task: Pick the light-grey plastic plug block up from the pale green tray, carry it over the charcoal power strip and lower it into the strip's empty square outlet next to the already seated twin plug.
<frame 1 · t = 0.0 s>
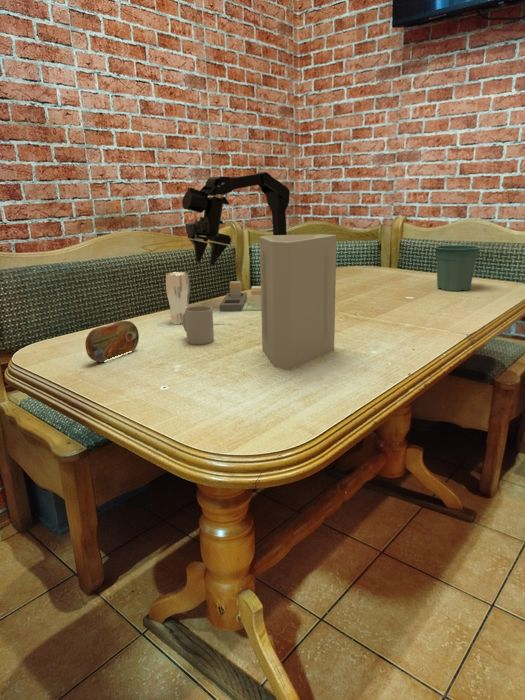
hand: (204, 263, 168), 15 cm above the table, tool pointing down, fingers open, 9 cm apart
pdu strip: (234, 307, 174), on the table
tray: (257, 310, 169), on the table
cup: (197, 340, 137), on the table
flower pot: (453, 289, 197), on the table
taupe rounded pillar: (288, 354, 124), on the table
tin: (114, 357, 125), on the table
beer glass: (180, 322, 156), on the table
plug: (257, 307, 169), point 1 cm above the table, touching tray
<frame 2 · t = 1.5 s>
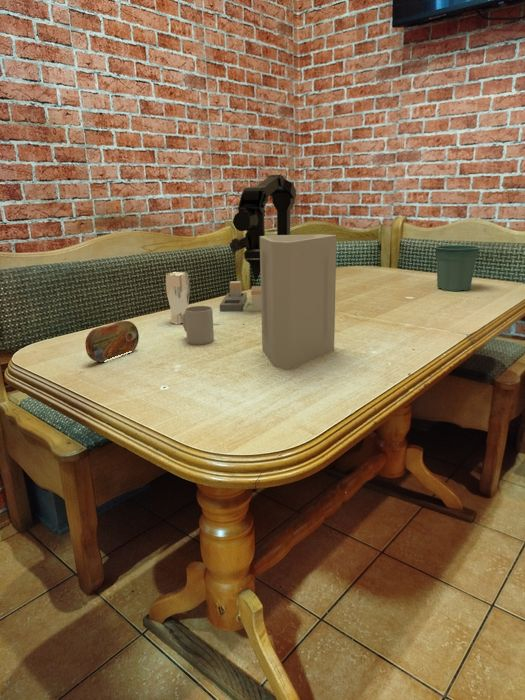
hand: (256, 277, 166), 11 cm above the table, tool pointing down, fingers open, 9 cm apart
nothing on the table moved.
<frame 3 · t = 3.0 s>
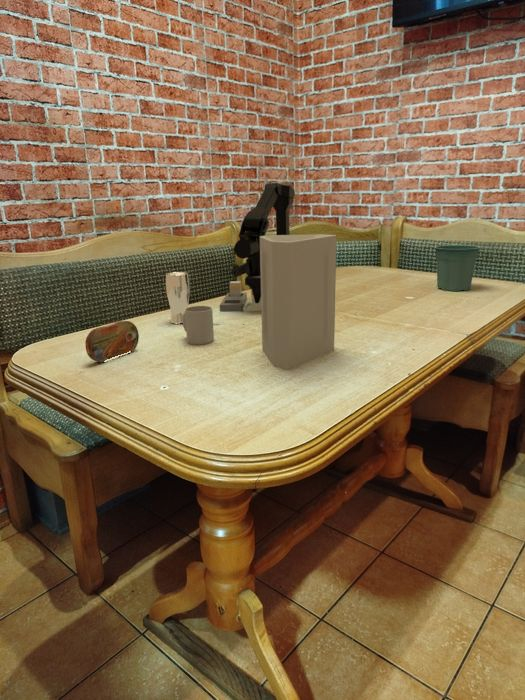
hand: (257, 301, 168), 3 cm above the table, tool pointing down, fingers closed on plug, 4 cm apart
plug: (257, 307, 169), point 1 cm above the table, touching gripper, tray
everything else where it was.
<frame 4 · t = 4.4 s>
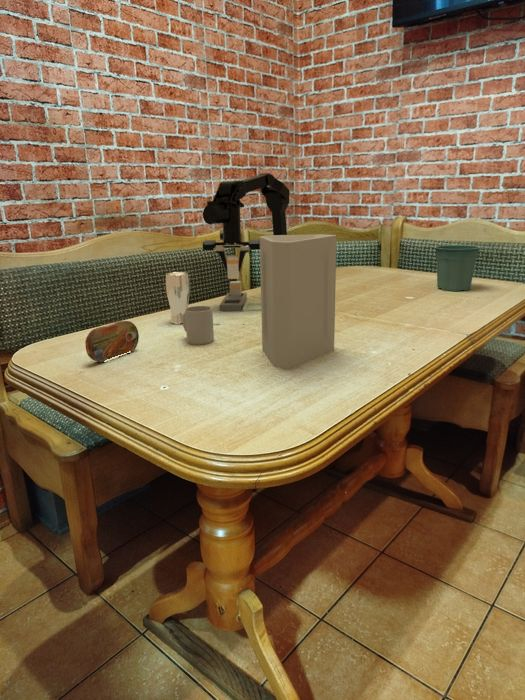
hand: (233, 271, 165), 13 cm above the table, tool pointing down, fingers closed on plug, 4 cm apart
plug: (233, 277, 166), point 11 cm above the table, touching gripper
everything else where it was.
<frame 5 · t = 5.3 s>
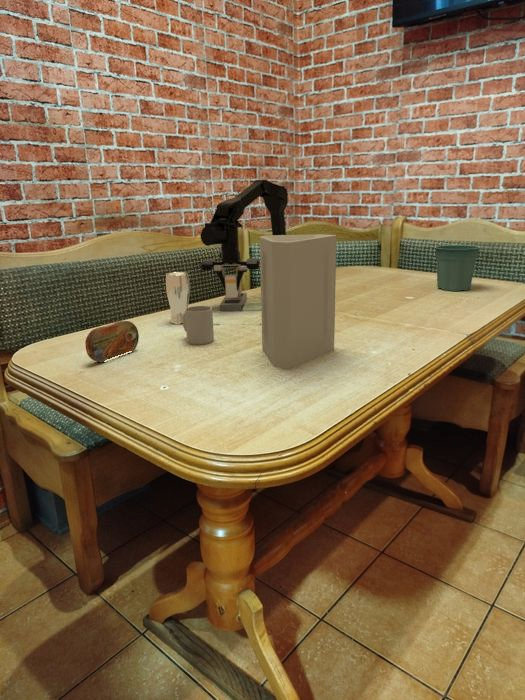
hand: (231, 290, 168), 7 cm above the table, tool pointing down, fingers closed on plug, 4 cm apart
plug: (232, 296, 168), point 5 cm above the table, touching gripper
everything else where it was.
when the fingers open (4 cm above the table, at t = 6.1 s): plug drops 1 cm, resting on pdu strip.
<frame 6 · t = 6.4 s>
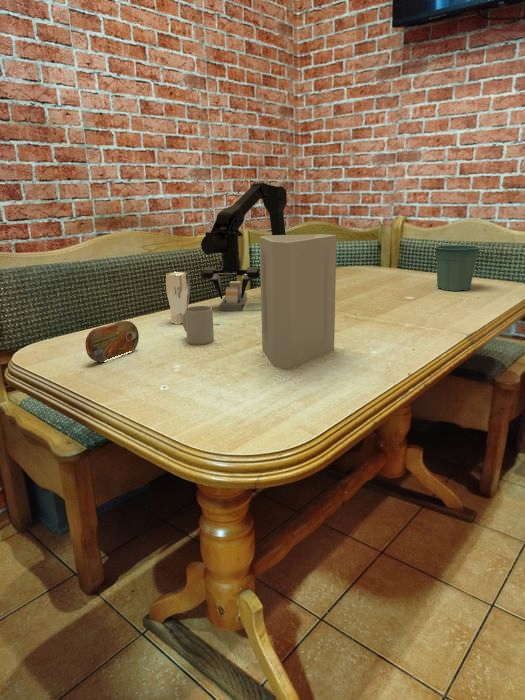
hand: (232, 298, 168), 4 cm above the table, tool pointing down, fingers open, 7 cm apart
plug: (232, 308, 169), point 1 cm above the table, touching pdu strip
everything else where it was.
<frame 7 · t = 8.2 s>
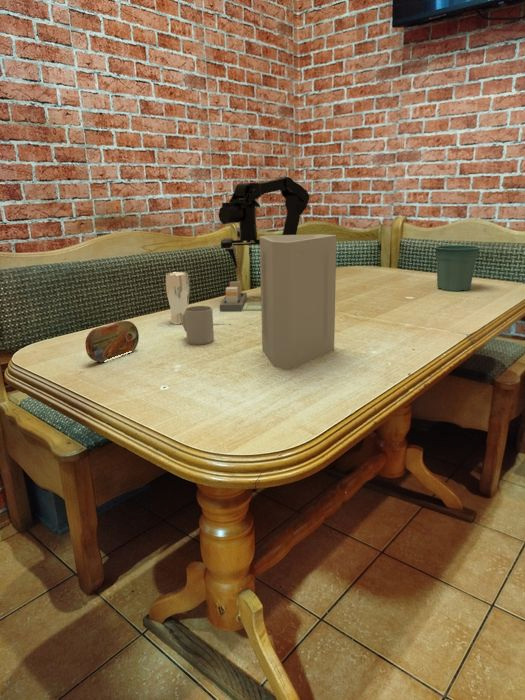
hand: (249, 267, 177), 13 cm above the table, tool pointing down, fingers open, 9 cm apart
nothing on the table moved.
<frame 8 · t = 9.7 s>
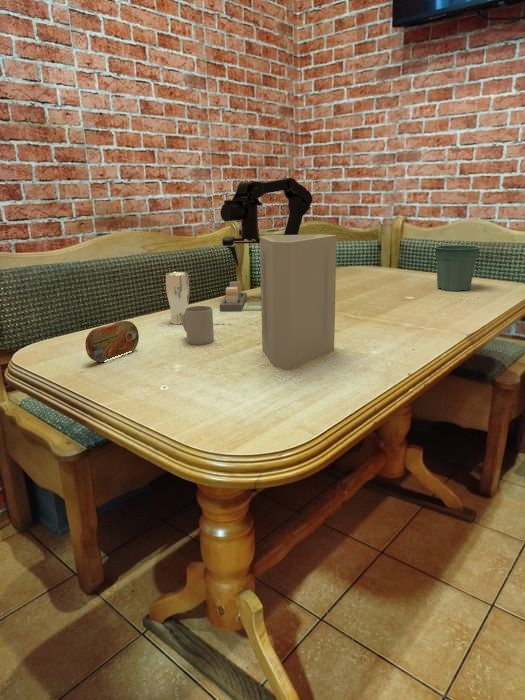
hand: (250, 265, 178), 13 cm above the table, tool pointing down, fingers open, 9 cm apart
nothing on the table moved.
at the end: plug 0.0 cm from the target spot on the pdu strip, point 0.6 cm above the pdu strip's base; plug tilted 0°; the gripper is holding nothing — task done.
